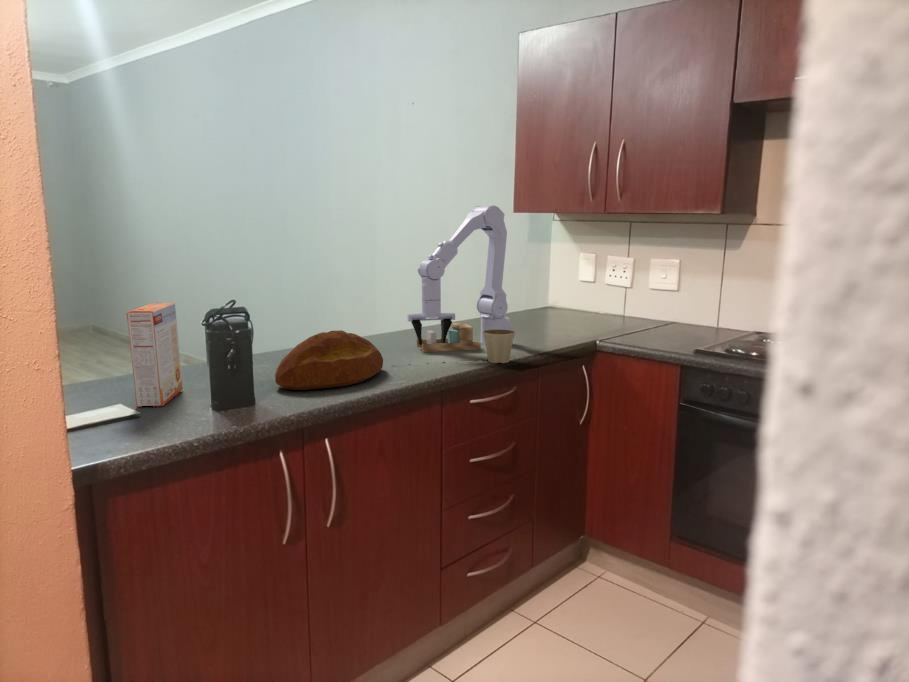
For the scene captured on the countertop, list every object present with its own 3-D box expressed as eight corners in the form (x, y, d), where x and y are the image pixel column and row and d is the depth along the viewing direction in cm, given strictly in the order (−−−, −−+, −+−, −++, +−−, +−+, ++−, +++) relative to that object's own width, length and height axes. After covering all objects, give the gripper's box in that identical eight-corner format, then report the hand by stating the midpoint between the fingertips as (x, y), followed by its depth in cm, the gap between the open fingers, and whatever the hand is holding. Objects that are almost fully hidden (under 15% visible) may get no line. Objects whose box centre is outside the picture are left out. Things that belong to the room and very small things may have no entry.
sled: (463, 344, 208) (463, 328, 207) (469, 348, 201) (469, 332, 200) (426, 346, 205) (426, 330, 204) (431, 350, 198) (431, 333, 198)
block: (461, 343, 206) (461, 329, 206) (465, 345, 202) (465, 331, 201) (447, 344, 205) (447, 329, 204) (451, 346, 201) (451, 332, 200)
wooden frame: (471, 346, 210) (471, 322, 209) (480, 351, 201) (480, 327, 199) (416, 348, 206) (416, 324, 205) (422, 354, 196) (422, 329, 195)
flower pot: (518, 359, 189) (519, 329, 188) (510, 366, 181) (511, 335, 179) (487, 357, 193) (487, 328, 191) (478, 363, 184) (478, 333, 182)
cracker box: (157, 391, 153) (149, 302, 150) (183, 391, 154) (177, 302, 150) (133, 408, 140) (124, 310, 136) (162, 407, 140) (154, 310, 136)
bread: (252, 385, 160) (249, 335, 158) (355, 364, 184) (354, 320, 182) (304, 400, 146) (302, 345, 144) (408, 375, 171) (408, 328, 169)
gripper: (451, 297, 205) (451, 340, 207) (405, 298, 201) (406, 342, 204) (456, 300, 198) (456, 344, 200) (409, 301, 195) (410, 346, 197)
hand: (431, 343), depth 202 cm, fingers open, 7 cm apart
